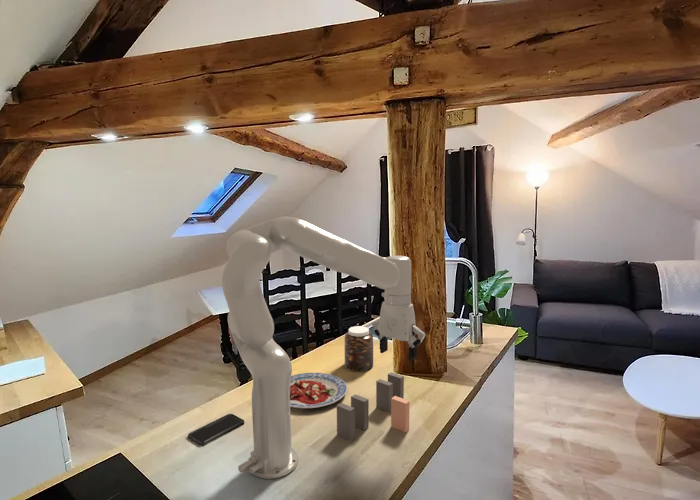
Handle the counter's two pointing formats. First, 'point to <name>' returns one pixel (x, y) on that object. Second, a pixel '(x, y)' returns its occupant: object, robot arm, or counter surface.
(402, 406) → the terracotta domino
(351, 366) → the jar
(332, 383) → the ceramic plate
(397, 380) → the domino
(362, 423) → the domino
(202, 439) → the phone
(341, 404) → the domino
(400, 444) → the counter surface
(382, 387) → the domino
